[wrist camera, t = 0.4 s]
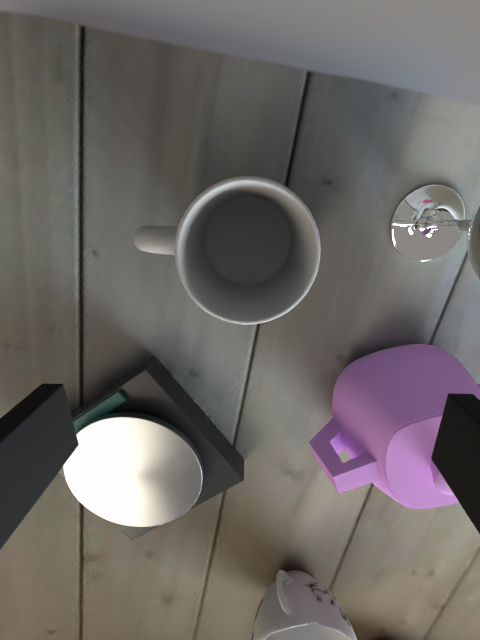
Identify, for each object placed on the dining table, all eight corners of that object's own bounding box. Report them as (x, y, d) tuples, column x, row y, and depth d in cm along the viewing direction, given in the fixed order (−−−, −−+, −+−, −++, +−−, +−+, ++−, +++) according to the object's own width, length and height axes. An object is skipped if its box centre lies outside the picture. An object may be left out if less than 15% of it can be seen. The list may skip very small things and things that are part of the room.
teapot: (498, 422, 33) (614, 518, 23) (316, 465, 36) (345, 569, 25) (490, 309, 29) (626, 361, 19) (286, 365, 32) (306, 439, 21)
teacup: (351, 604, 43) (373, 686, 36) (266, 620, 45) (269, 702, 37) (324, 528, 39) (342, 604, 31) (230, 550, 40) (226, 627, 33)
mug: (302, 195, 27) (336, 182, 16) (287, 292, 29) (308, 333, 19) (162, 181, 26) (107, 157, 16) (161, 279, 29) (112, 313, 19)
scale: (47, 429, 35) (25, 452, 32) (154, 355, 32) (143, 372, 28) (140, 516, 39) (130, 545, 35) (244, 459, 36) (243, 485, 32)
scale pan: (38, 455, 31) (33, 461, 31) (142, 386, 29) (139, 391, 28) (130, 538, 35) (127, 545, 34) (230, 484, 32) (230, 490, 31)
